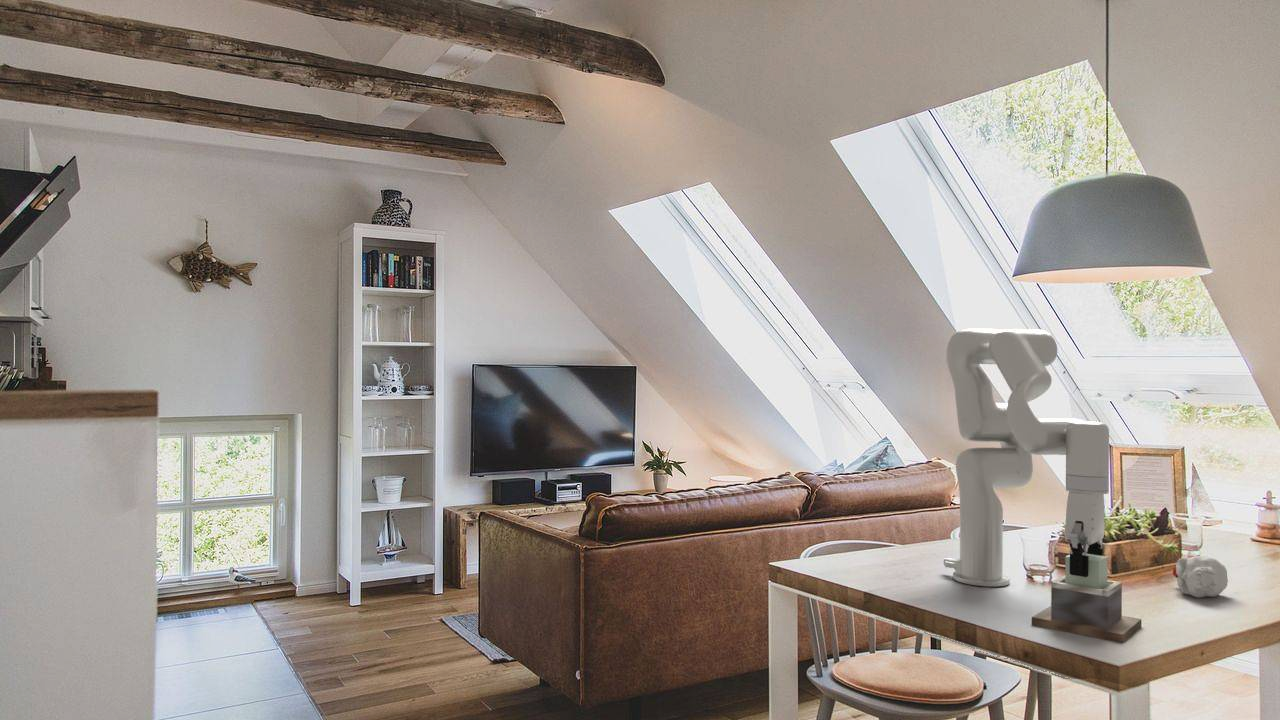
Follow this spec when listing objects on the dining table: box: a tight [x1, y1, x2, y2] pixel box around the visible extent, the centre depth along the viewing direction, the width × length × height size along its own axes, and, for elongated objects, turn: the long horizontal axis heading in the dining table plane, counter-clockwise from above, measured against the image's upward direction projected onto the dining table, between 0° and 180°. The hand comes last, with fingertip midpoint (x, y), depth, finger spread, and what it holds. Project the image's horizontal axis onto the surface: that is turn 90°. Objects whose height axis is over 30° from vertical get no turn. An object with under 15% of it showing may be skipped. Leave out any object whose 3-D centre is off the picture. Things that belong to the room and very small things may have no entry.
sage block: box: [1064, 553, 1108, 589], centre depth 168 cm, size 6×6×6 cm
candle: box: [1172, 555, 1229, 599], centre depth 195 cm, size 9×11×15 cm
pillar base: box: [1031, 574, 1142, 644], centre depth 168 cm, size 16×14×8 cm
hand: (1086, 571), depth 168 cm, fingers open, 9 cm apart
